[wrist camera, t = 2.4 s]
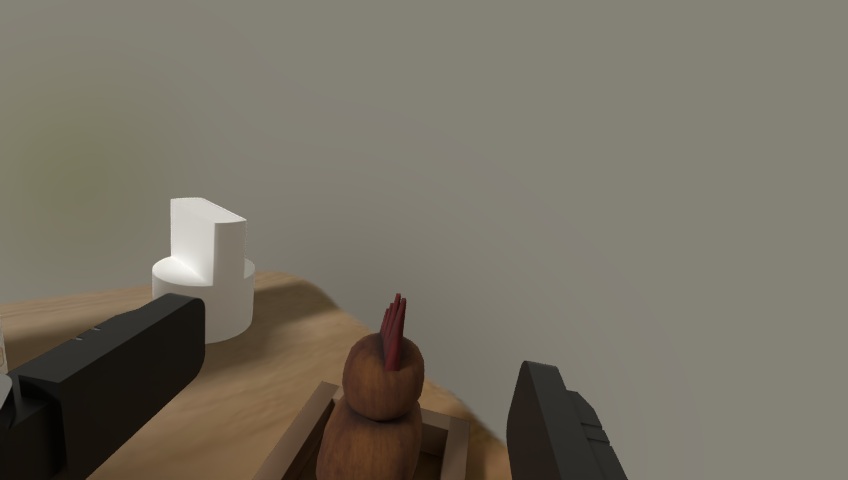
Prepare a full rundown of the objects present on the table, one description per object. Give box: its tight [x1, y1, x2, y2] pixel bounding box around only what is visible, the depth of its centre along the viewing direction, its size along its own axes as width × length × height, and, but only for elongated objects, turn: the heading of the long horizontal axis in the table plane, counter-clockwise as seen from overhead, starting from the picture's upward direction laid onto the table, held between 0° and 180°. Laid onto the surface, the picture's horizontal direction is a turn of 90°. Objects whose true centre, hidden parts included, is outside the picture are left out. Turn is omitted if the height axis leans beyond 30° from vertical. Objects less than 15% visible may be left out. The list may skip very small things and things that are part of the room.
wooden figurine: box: [316, 294, 424, 480], centre depth 23 cm, size 7×6×15 cm
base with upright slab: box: [152, 198, 255, 344], centre depth 40 cm, size 9×9×12 cm
